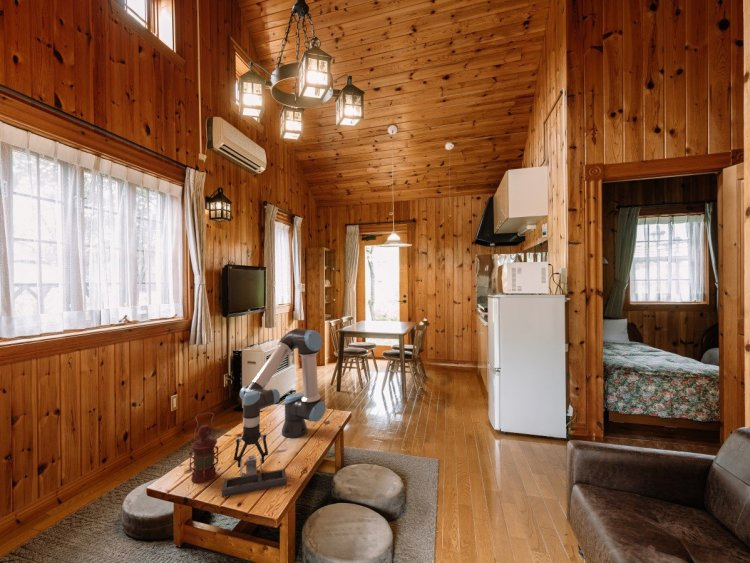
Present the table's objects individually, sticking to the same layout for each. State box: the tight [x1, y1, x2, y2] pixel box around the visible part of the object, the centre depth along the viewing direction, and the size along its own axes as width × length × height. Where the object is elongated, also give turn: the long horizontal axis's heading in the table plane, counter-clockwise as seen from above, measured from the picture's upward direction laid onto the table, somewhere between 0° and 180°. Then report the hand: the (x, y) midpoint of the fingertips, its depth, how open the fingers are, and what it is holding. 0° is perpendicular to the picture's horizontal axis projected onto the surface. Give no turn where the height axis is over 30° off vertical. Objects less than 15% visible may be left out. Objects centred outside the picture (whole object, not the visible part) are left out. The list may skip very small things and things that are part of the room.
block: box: [245, 454, 257, 476], centre depth 160 cm, size 4×4×7 cm
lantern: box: [189, 412, 219, 484], centre depth 156 cm, size 12×12×30 cm
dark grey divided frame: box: [221, 468, 287, 498], centre depth 149 cm, size 26×8×3 cm, turn 109°
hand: (251, 471), depth 159 cm, fingers open, 8 cm apart
